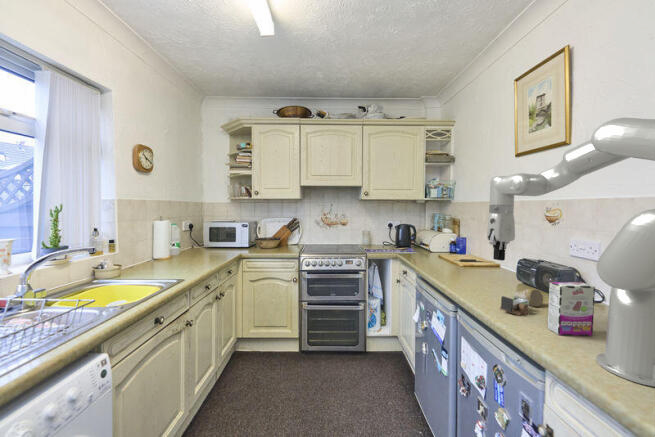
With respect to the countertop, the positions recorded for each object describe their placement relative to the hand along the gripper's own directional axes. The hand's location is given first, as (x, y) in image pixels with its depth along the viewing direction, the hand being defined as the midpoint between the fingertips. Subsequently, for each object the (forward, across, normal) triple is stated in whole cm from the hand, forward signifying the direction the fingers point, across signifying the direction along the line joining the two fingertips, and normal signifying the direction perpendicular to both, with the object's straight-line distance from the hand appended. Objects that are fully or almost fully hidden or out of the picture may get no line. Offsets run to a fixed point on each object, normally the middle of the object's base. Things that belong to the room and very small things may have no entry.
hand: (499, 259), depth 98 cm
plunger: (+20, +12, 0) cm, 24 cm away
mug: (+22, +26, +3) cm, 35 cm away
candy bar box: (+22, +10, -18) cm, 30 cm away
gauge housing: (+22, +12, 0) cm, 25 cm away
